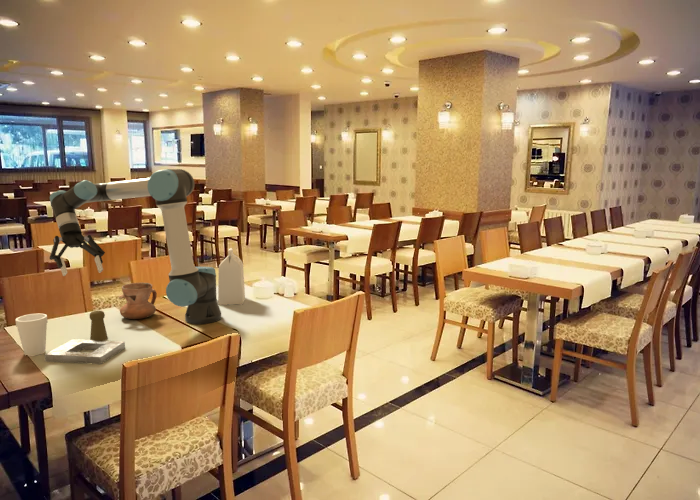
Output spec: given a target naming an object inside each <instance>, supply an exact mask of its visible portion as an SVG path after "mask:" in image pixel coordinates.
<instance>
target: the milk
mask: <svg viewBox="0 0 700 500" xmlns="http://www.w3.org/2000/svg"><path fill="white" fill-rule="evenodd" d="M227 253H228V254H227V256H226V257H225V258H224V259H223V260H222V261H221V262H220V264H219V265H218V284H217V286H218V287H217V288H218V289H217V290H218V292H217V294H218V297H217V299H218V300H217V303H218V306H226V305H227V304H240V305H243V304H244V302H245V299H246V292H245V289H246V288H245V273H244V261H242V259H241V258H240V257H239V256H238V255H236V254H235V253H234V249H233V248H232V247H230V248H229V249H228V250H227ZM227 306H228V305H227Z"/></svg>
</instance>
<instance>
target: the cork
mask: <svg viewBox="0 0 700 500" xmlns="http://www.w3.org/2000/svg"><path fill="white" fill-rule="evenodd" d="M105 316H106V314H105V312H104V311H103V310H93V311H91V312H90V313H89V319H90V320H91V322H90V323H91V324H90V334H89V335H90V336H89V337H90V338H89V340H102V341H107V339H108V338H109V337H108V334H107V328H106V325H105V321H104V319H105Z"/></svg>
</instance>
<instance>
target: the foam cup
mask: <svg viewBox="0 0 700 500" xmlns="http://www.w3.org/2000/svg"><path fill="white" fill-rule="evenodd" d="M47 326H48V315H47V314H45V313H38V312H37V313H29V314H24V315H21V316H19V317H16V318H15V327H17V332H18V335H19V339H20V344H21V346H22V350H23V354H24V355H25V356H26V355H28V356H27V357H34V356H40V355H42V354H44V353H45V352H46V346H47V330H48V329H47V328H48V327H47ZM33 355H34V356H33Z"/></svg>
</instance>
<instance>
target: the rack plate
mask: <svg viewBox="0 0 700 500" xmlns="http://www.w3.org/2000/svg"><path fill="white" fill-rule="evenodd" d="M124 349H126V341H121V340H103V341H102V340H90V339H78V338H77V339H75V338H74V339H70V340H69V341H67V342H65V343H63V344H62V345H59V346H57V347H56V348H54V349H52V350H50V351H48V352H46V353H45V354H44V362H47V363H48V362H51V363H66V364H67V363H68V364H69V363H73V364H87V363H92V365H102V364H103V362H104V363H105V362H106V361H108V360H109V359H111V358H113V357H114V356H115V355H118V353H120V352H121V351H123V350H124ZM82 350H92V351H91V352H80V351H82Z"/></svg>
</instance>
